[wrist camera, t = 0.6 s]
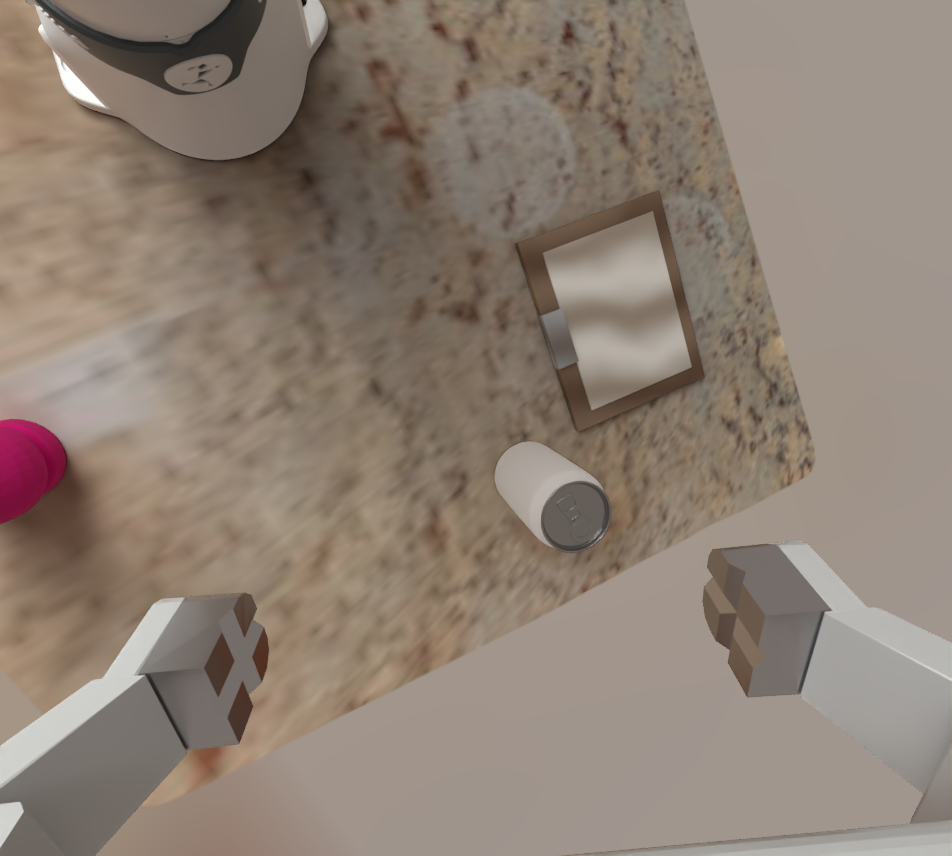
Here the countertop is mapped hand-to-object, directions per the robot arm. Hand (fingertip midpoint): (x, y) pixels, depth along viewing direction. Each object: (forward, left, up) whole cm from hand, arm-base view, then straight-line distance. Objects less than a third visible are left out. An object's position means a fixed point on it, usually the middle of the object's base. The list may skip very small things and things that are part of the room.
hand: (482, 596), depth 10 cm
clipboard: (+3, +22, -38) cm, 44 cm away
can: (+14, +9, -38) cm, 42 cm away
